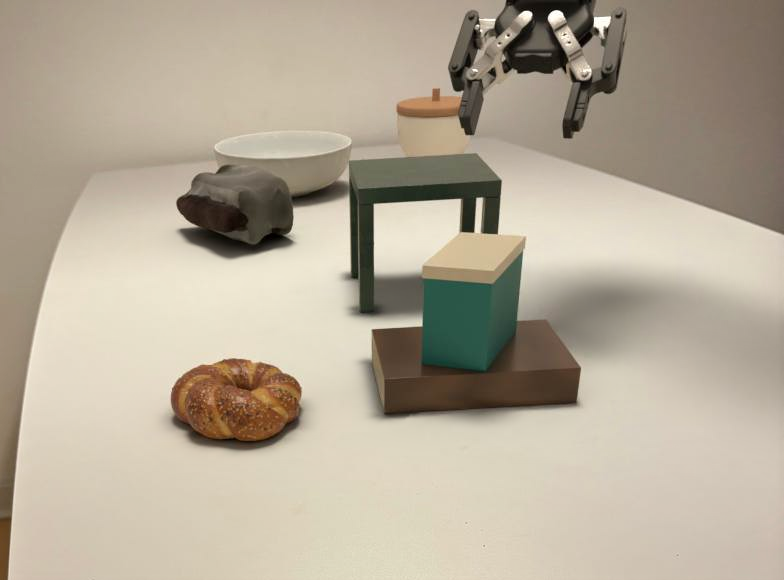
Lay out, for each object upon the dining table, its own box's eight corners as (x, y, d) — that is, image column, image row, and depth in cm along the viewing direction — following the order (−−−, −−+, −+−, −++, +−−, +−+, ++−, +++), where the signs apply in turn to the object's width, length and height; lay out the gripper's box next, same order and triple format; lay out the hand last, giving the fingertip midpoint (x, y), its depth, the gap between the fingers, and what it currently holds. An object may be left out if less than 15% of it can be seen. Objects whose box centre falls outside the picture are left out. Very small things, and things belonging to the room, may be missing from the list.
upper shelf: (470, 266, 110) (476, 152, 103) (493, 304, 99) (502, 180, 92) (350, 273, 110) (348, 160, 103) (359, 312, 99) (358, 188, 92)
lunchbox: (455, 324, 86) (460, 231, 81) (517, 330, 84) (526, 236, 79) (419, 364, 79) (422, 265, 74) (486, 372, 77) (493, 270, 72)
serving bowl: (224, 213, 137) (219, 160, 133) (213, 183, 153) (208, 136, 149) (364, 200, 139) (364, 148, 135) (339, 172, 155) (338, 126, 151)
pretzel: (322, 435, 75) (320, 391, 73) (188, 457, 73) (182, 412, 71) (285, 381, 85) (282, 341, 83) (165, 399, 83) (159, 358, 81)
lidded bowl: (478, 169, 152) (483, 91, 146) (400, 174, 152) (401, 96, 146) (464, 154, 162) (468, 80, 156) (391, 159, 162) (392, 85, 156)
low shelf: (543, 351, 88) (546, 318, 86) (576, 402, 78) (581, 367, 76) (371, 361, 88) (371, 329, 86) (384, 413, 78) (384, 379, 76)
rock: (166, 230, 130) (158, 167, 125) (238, 216, 135) (233, 155, 130) (227, 259, 117) (221, 191, 113) (304, 244, 122) (302, 177, 117)
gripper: (475, -76, 80) (427, 99, 79) (648, -85, 75) (601, 101, 74) (487, -5, 87) (444, 156, 86) (646, -9, 82) (603, 162, 81)
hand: (516, 131), depth 80 cm, fingers open, 8 cm apart
